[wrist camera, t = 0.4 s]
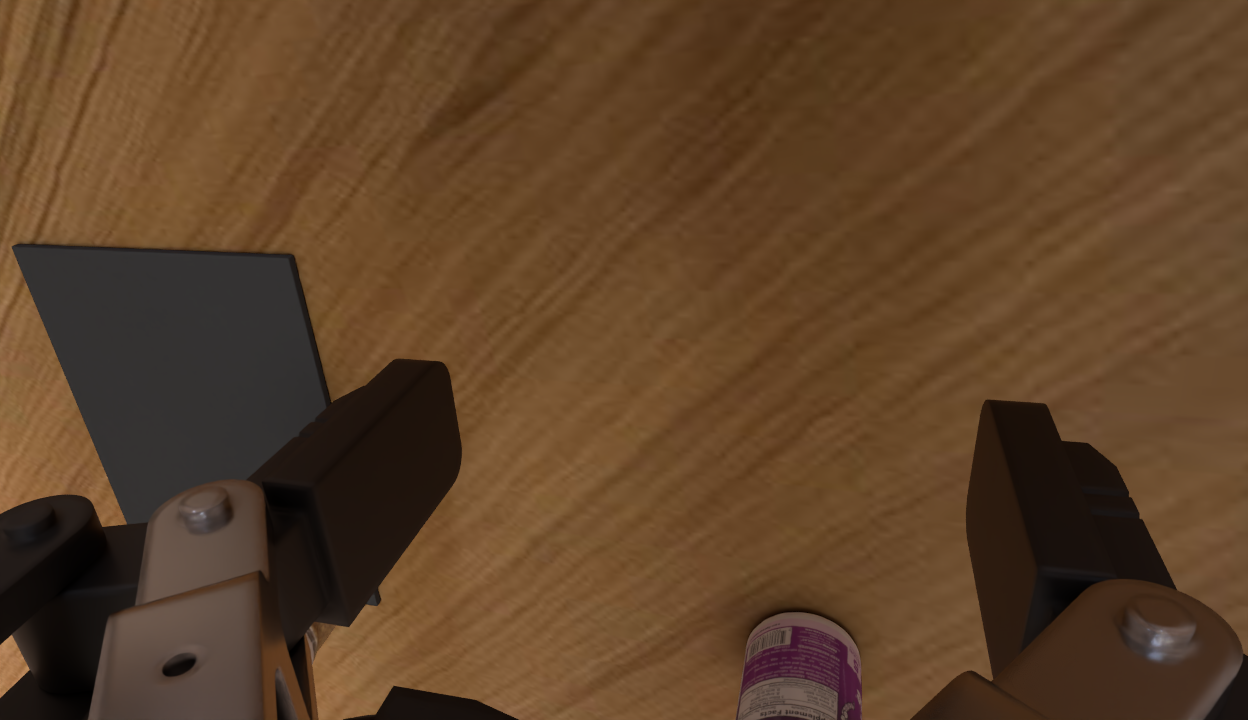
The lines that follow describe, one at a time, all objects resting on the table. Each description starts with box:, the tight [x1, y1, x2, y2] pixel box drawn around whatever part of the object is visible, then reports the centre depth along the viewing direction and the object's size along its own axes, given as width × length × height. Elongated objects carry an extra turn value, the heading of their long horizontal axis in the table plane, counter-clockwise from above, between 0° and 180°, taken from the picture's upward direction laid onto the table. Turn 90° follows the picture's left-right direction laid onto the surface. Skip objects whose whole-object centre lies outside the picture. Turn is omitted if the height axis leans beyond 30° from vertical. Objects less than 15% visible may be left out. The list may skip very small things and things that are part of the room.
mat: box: [12, 244, 380, 606], centre depth 42 cm, size 20×15×1 cm
